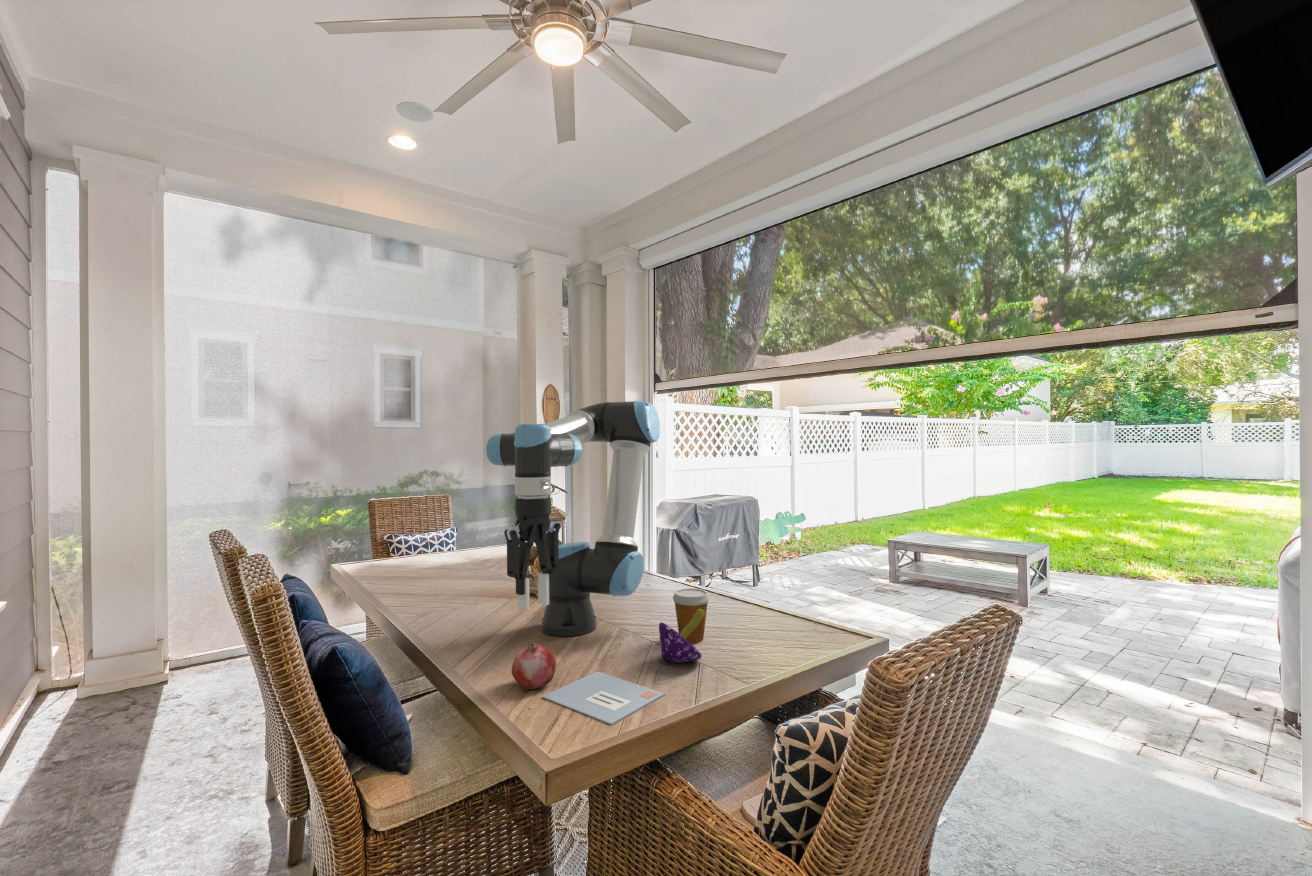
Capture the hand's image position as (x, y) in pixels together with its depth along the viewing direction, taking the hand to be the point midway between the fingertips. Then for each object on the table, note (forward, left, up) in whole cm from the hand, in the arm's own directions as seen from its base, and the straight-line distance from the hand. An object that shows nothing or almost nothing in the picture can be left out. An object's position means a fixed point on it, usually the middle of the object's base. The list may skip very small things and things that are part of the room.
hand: (533, 606), depth 126 cm
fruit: (0, 0, -17) cm, 17 cm away
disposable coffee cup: (+10, +44, -17) cm, 48 cm away
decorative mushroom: (+20, +35, -5) cm, 41 cm away
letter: (+15, +5, -17) cm, 23 cm away
